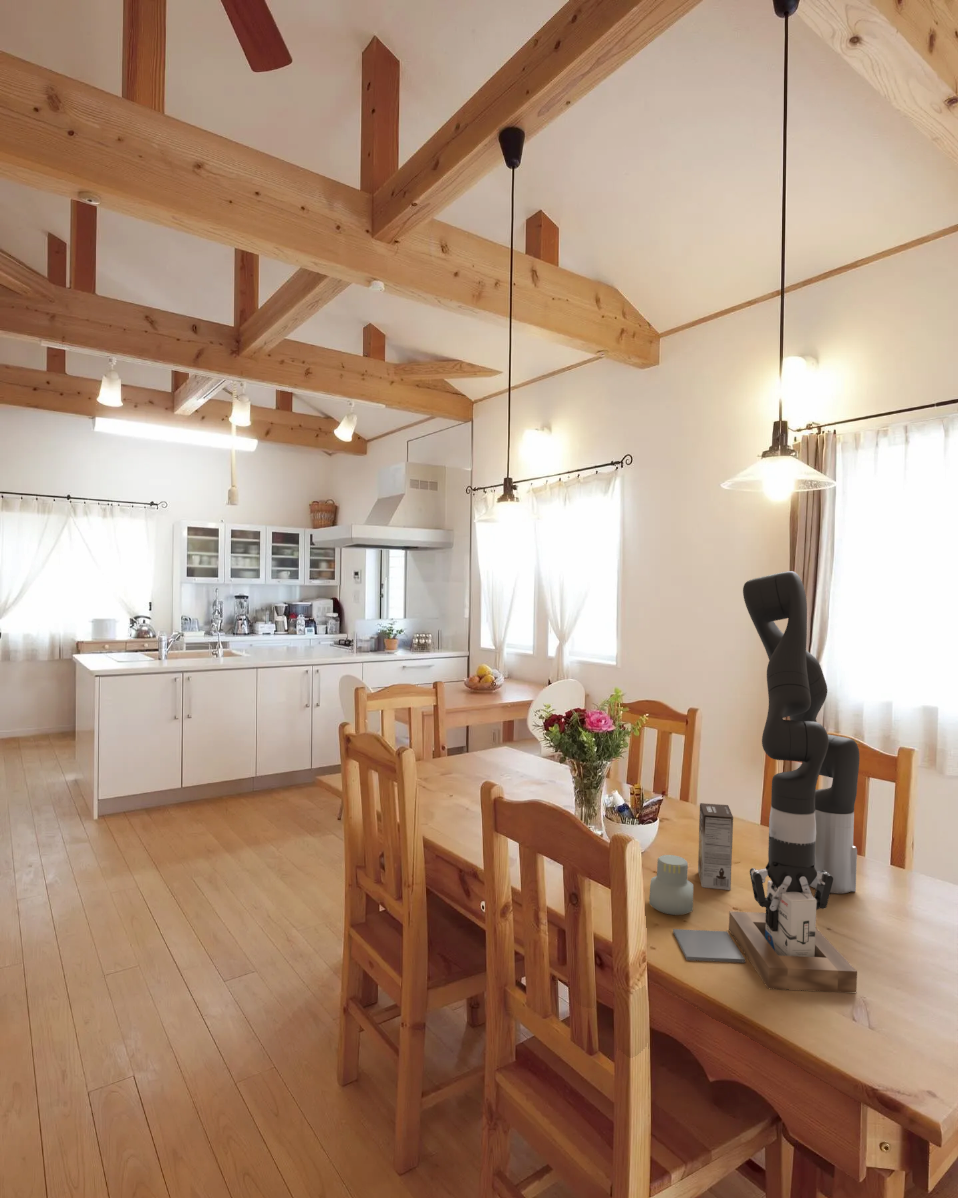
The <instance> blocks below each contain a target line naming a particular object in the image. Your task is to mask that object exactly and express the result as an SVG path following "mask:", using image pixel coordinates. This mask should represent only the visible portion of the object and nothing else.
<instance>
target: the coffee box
mask: <svg viewBox="0 0 958 1198" xmlns="http://www.w3.org/2000/svg"><path fill="white" fill-rule="evenodd" d="M698 823H699V825H698V831H699V832H698V857H697V858H698V859H697V860H698V861H697V872H698V877H699V882H700V884H701V887H702V888H705V889H706V888H707V889H713V890H714V889H716V890H724V891H725V890H726V891H731V890H732V865H733V863H732V862H733V861H732V859H733V837H734V836H733V835H734V834H733V833H734V816H733V813H732V811H731V809H730V806H729V805H728V804H719V803H717V804H716V803H703V802H700V803H699V822H698Z"/></svg>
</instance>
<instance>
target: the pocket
mask: <svg viewBox="0 0 958 1198" xmlns="http://www.w3.org/2000/svg"><path fill="white" fill-rule="evenodd" d="M728 915H729V916H728V930H729V932H730V933H731V935H732V936H733V938H734V940H735V942H736V943H737V944H738V946H739V947H740V950H742V952H743V953H744V955H745V956H746V957H747V959H748V961H749V962H750V964H751V965H752V968H754V970H755V971H756V973H757V975H758V976H759V977H760V979H761V980H762V982H763V983H764V985H765V984H766V985H765V986H766V988H767V989H768V990H779V989H783V991H787V990H786V989H789V990H788V991H801V990H802V991H803V990H804V991H805V990H806V992H826V993H827V992H828V993H845V992H856V993H857V986H858V985H857V984H858V981H857V980H858V971H857V970H856V968H854V966H853V965H852V964H851V963H850V962H849V961H848V960H847V959H846V958H845V957H844V956H843V954H842V953H840V951H839V950H838V949H837V948H836V947H835V945H833V944H832V943H831V942H830V940H829V939H828V938H827V937H826V936H825V935H824V934H823V933H822V932H821V931H820V930H819V929H818V928H817V927H816V928H815V955H814V957H799V956H778V955H777V953H776V952H775V951H774V949H773V948H772V947H771V945H770V944H769V943H768V941H767V940H766V939H765V928H766V921H765V919H766V912H754V911H751V912H750V911H732V910H731V911H729V912H728ZM769 988H770V989H769ZM784 989H785V990H784ZM807 990H808V991H807Z"/></svg>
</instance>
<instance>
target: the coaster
mask: <svg viewBox="0 0 958 1198" xmlns="http://www.w3.org/2000/svg"><path fill="white" fill-rule="evenodd" d="M672 933H673V935H674V937H675V940H676V941H677V943H678V945H679V948H680V949H681V951H682V953H683V956H684V958H685V959H686V961H696V960H697V961H698V960H699V961H701V962H702V961H703V962H718V961H719V962H724V963H741V964H742V963H743V964H744V963H746V958H745V957H744V955H743V954H742V952H741V950H740V949H739V947H738V945H737V944H736V943H735V941H734V940H733V938H732V936H731V935H730V934H729V932H728V931H727V930H726V931H724V930H705V929H702V930H701V929H699V930H698V929H680V928H679V929H678V928H672ZM699 961H698V962H699Z"/></svg>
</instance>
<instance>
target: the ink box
mask: <svg viewBox="0 0 958 1198" xmlns="http://www.w3.org/2000/svg"><path fill="white" fill-rule="evenodd" d="M771 881H772V880H767V890H766V891H767V892H766V895H767V894H768V888H769V886H770V884H771ZM774 889H775V890H776V891H777V887H776V886H775V885H774ZM811 894H812V893H811ZM811 894H808V893H807V894H804V893H803V892H802V893H800V892H785V894H782V900H780V902H779V904H778V907H777V909H776V910H777V911H778V921H777V932H774V931H772V930H771V929H770V928H769V927H768V925H767V924H766V928H765V939H766V940H767V941H768V943H769V944H770V945H771V947H772V948H773V949H774V951H775V952H776V953H777V955H778V956H799V957H814V955H815V928H817V927H816V926H817V925H816V924H817V922H816V921H817V910H816V903H817V901H816V899H815V898H814V896H813V894H812V895H811Z"/></svg>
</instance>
